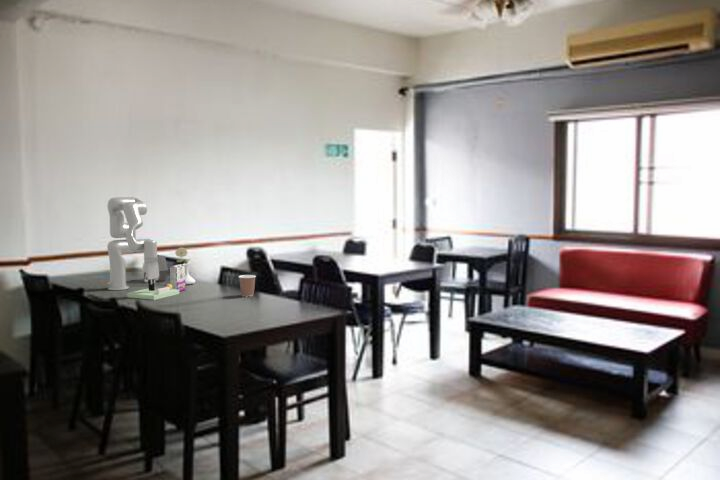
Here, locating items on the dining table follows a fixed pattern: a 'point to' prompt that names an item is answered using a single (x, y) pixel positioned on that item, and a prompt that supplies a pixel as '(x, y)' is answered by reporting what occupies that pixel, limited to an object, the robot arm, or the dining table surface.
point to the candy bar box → (178, 277)
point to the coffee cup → (247, 285)
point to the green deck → (151, 295)
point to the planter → (162, 268)
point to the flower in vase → (182, 253)
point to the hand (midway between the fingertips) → (151, 290)
